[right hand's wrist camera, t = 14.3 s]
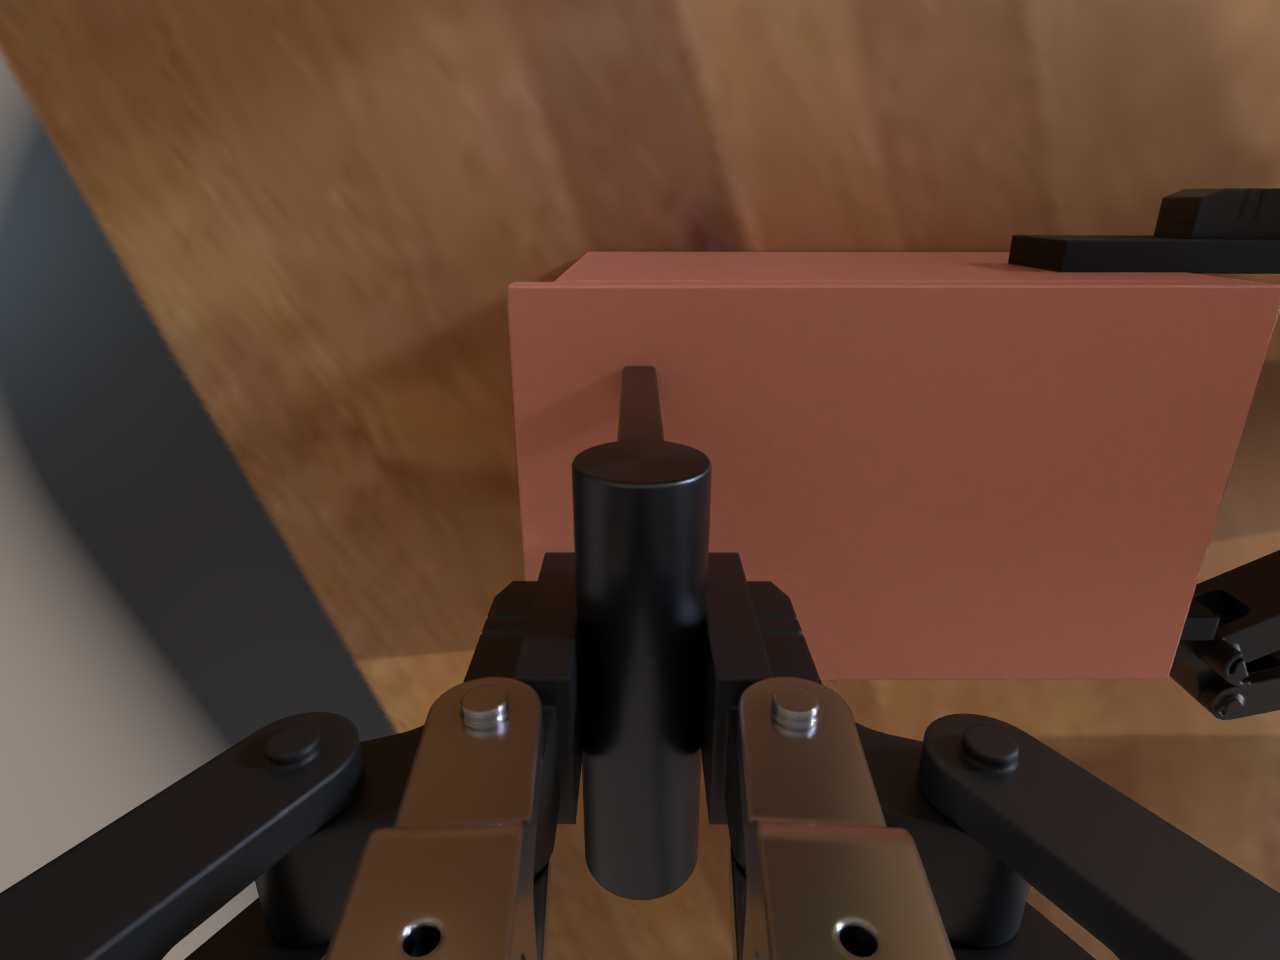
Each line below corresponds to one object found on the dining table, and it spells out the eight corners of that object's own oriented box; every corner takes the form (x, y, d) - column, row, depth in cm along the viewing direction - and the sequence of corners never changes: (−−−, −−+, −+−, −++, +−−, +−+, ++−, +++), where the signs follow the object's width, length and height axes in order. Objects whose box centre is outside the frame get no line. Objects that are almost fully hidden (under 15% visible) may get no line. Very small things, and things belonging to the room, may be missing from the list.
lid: (534, 663, 19) (466, 973, 11) (511, 281, 16) (393, 358, 8) (1148, 661, 19) (1489, 966, 11) (1257, 281, 16) (1847, 356, 8)
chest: (592, 509, 28) (567, 658, 19) (586, 251, 25) (552, 280, 16) (983, 510, 28) (1147, 660, 19) (1029, 251, 25) (1256, 280, 16)
